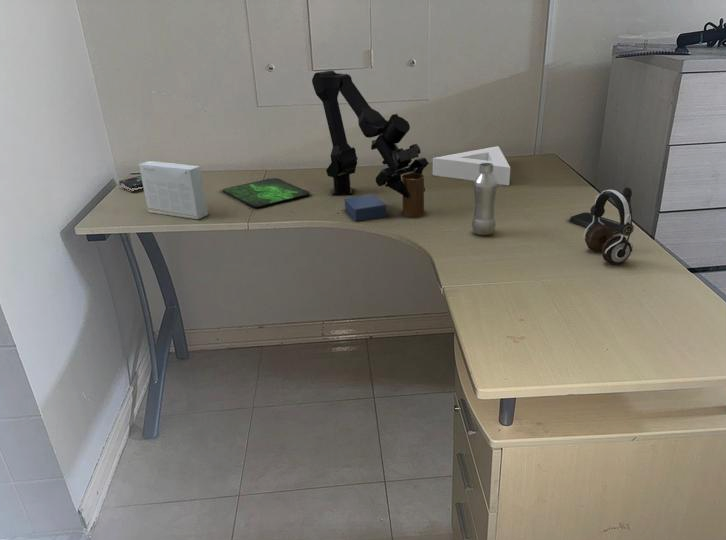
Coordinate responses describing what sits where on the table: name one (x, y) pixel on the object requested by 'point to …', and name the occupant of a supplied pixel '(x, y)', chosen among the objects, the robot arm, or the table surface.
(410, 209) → the brown wooden cylinder
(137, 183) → the disk drive
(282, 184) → the mouse mat
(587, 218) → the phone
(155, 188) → the skincare box
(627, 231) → the headset
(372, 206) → the box
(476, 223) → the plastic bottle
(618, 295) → the table surface
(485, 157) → the triangle block
